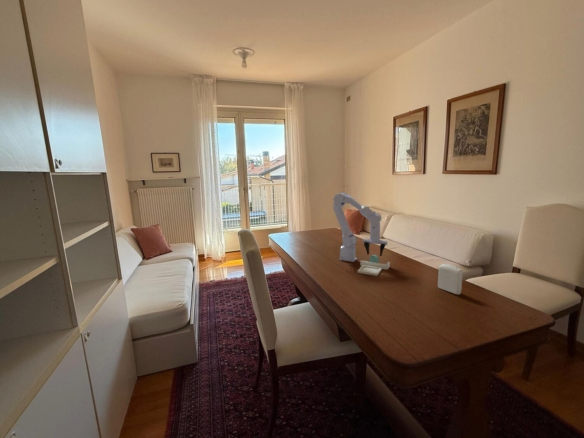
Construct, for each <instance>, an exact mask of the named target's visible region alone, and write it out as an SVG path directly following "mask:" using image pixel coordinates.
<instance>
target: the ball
mask: <svg viewBox="0 0 584 438" xmlns="http://www.w3.org/2000/svg"><path fill="white" fill-rule="evenodd" d="M369 262H375V263H379V262H380V259H379V256H378V255H377V254H372V255H370V256H369Z"/></svg>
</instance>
